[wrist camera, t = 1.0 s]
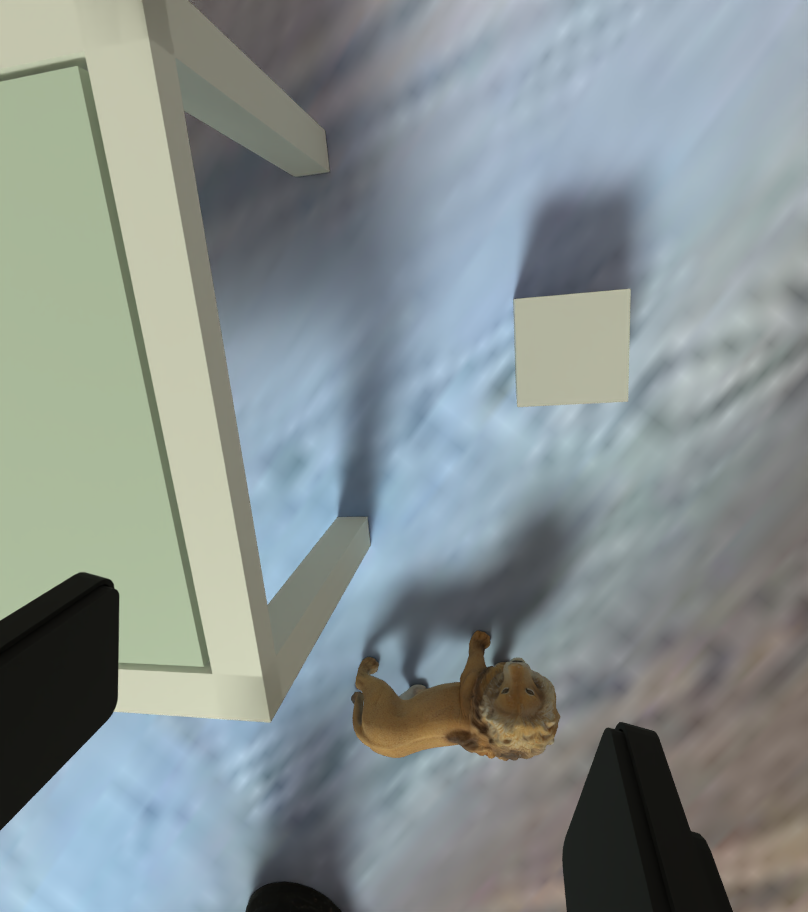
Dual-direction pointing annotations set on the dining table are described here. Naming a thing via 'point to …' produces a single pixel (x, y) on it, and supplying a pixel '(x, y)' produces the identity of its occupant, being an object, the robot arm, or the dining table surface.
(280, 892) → the lantern
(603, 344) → the stone block
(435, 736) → the lion figurine
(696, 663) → the dining table surface
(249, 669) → the trapdoor frame
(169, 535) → the trapdoor plate
